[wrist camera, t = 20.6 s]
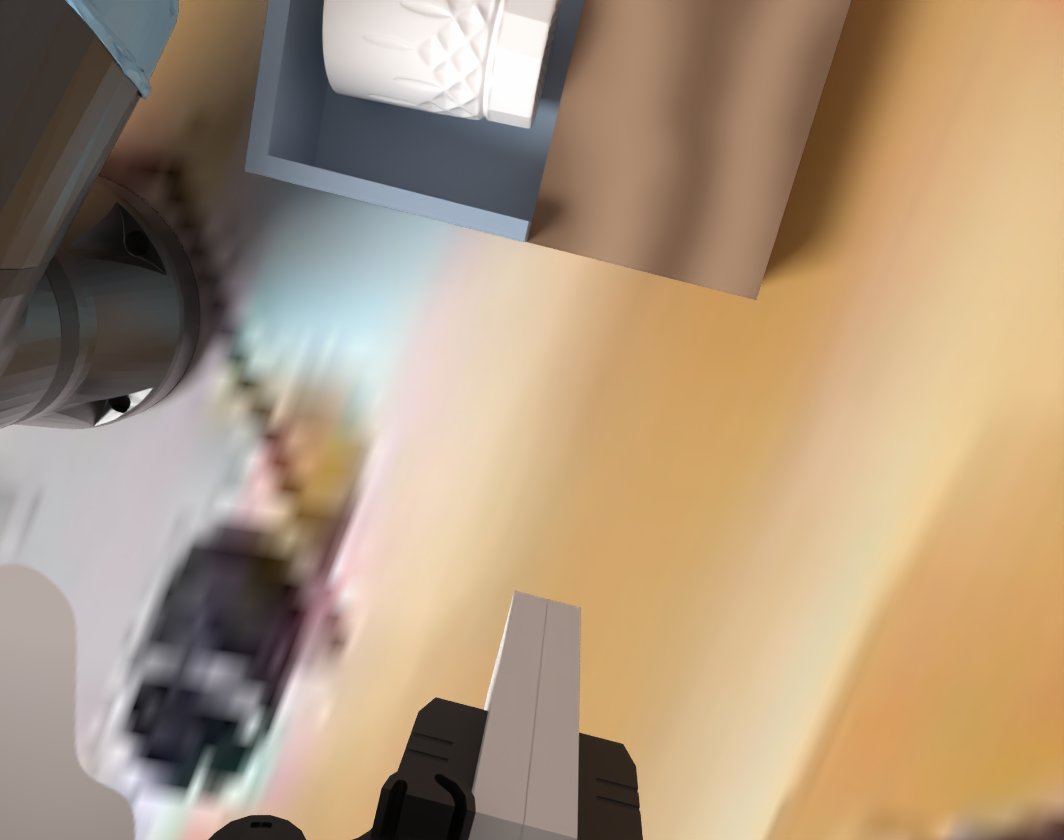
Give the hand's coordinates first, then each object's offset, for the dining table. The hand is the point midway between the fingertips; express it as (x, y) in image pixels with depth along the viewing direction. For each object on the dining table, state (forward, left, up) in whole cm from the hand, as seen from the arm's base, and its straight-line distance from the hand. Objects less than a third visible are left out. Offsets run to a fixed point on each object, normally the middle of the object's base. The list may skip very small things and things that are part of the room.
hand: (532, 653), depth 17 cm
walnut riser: (+2, +17, -29) cm, 34 cm away
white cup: (-5, +17, -25) cm, 31 cm away
